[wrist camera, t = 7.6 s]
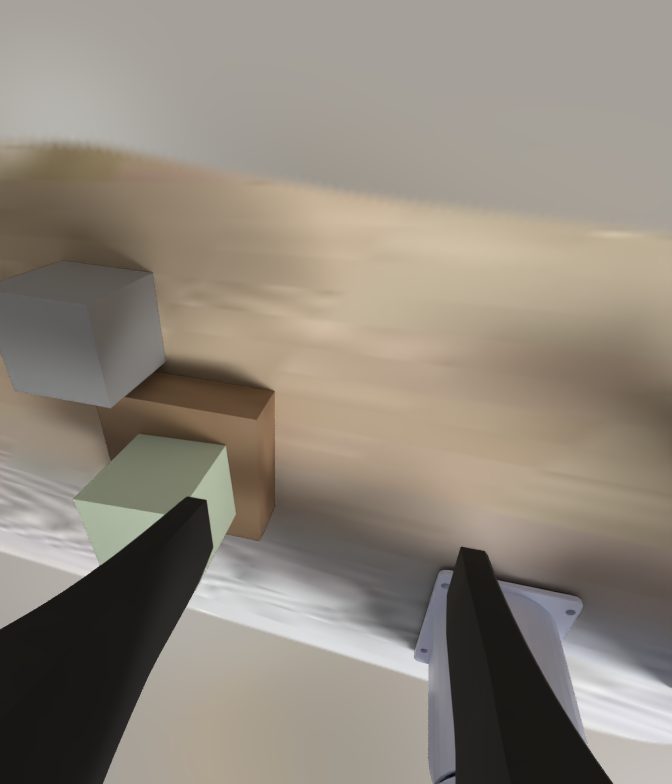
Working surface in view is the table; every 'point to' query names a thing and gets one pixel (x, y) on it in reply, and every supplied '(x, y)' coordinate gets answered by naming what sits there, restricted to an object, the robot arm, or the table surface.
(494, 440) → the table surface
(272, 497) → the walnut block
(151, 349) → the grey block
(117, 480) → the sage block
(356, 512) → the table surface
